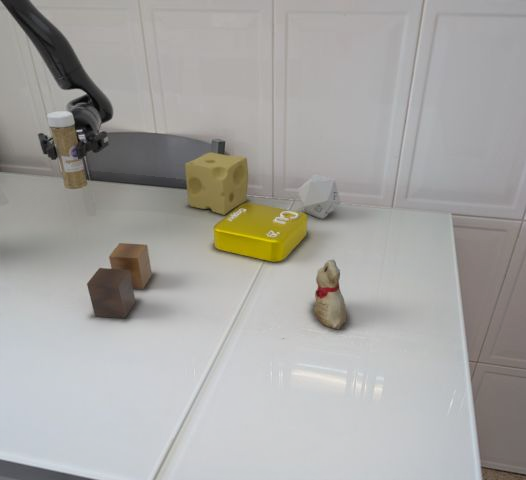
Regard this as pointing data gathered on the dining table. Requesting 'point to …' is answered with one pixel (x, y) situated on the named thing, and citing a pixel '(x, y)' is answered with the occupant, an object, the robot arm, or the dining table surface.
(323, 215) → the die
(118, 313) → the walnut block
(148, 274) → the oak block
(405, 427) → the dining table surface
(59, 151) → the sprinkles bottle
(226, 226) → the element tile
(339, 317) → the chocolate bunny
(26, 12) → the robot arm
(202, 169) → the cheese
